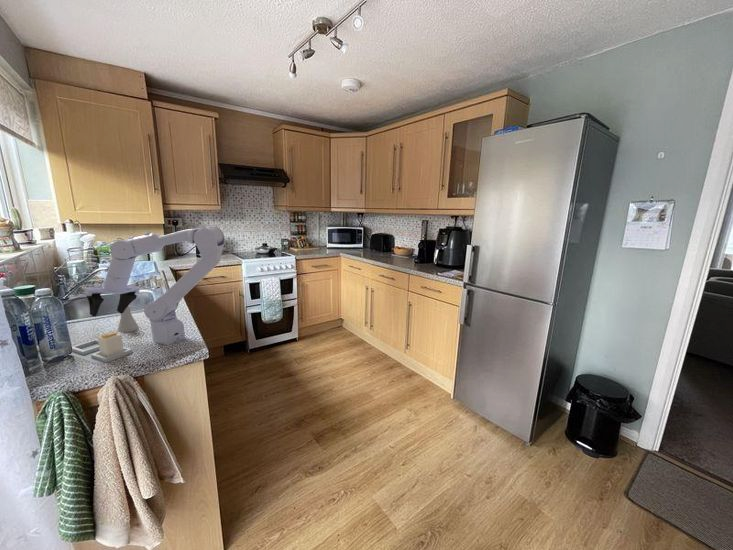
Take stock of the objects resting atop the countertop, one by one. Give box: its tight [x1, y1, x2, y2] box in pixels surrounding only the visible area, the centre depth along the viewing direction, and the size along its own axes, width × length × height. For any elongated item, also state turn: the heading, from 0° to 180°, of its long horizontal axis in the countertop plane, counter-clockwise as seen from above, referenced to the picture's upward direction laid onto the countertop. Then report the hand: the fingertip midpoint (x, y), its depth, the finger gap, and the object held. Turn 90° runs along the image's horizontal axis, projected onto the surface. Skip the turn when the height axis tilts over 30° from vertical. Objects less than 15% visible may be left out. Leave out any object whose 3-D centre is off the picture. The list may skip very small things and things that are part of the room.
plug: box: [96, 331, 124, 357], centre depth 90 cm, size 4×4×7 cm
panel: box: [68, 338, 139, 366], centre depth 93 cm, size 18×10×2 cm, turn 68°
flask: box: [116, 304, 139, 333], centre depth 109 cm, size 7×7×10 cm
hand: (106, 313), depth 99 cm, fingers open, 7 cm apart
